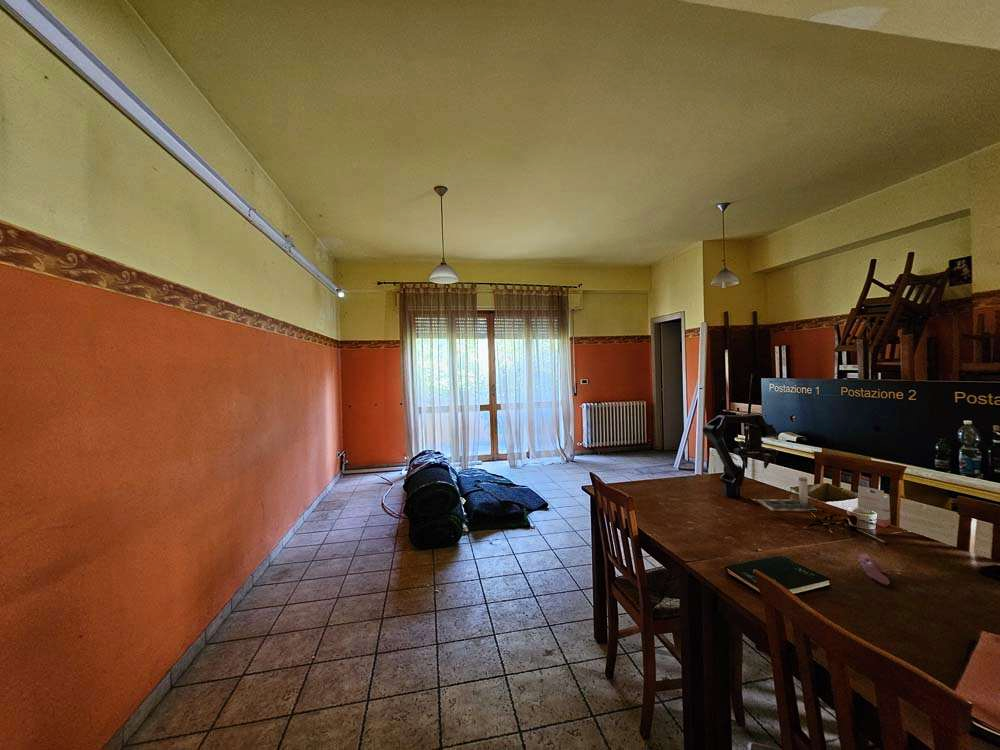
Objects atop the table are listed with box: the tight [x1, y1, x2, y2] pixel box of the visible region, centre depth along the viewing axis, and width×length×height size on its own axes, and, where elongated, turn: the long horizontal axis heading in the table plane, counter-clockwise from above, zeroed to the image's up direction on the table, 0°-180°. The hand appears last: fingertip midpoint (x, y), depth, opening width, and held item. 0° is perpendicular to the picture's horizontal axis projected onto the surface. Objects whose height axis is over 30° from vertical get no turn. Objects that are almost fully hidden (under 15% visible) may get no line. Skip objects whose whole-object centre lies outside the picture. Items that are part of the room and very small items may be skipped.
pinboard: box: [756, 494, 817, 512], centre depth 173 cm, size 19×12×4 cm, turn 84°
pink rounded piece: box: [858, 553, 891, 586], centre depth 115 cm, size 10×5×7 cm, turn 142°
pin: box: [798, 476, 809, 505], centre depth 170 cm, size 3×3×13 cm
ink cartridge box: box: [857, 485, 891, 528], centre depth 153 cm, size 9×5×15 cm, turn 25°
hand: (755, 468), depth 192 cm, fingers open, 9 cm apart
